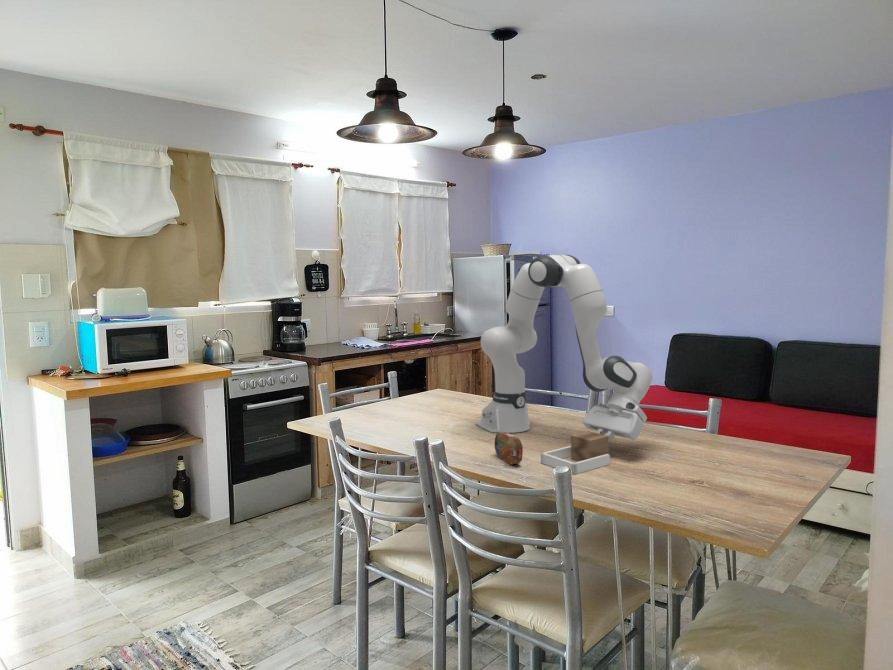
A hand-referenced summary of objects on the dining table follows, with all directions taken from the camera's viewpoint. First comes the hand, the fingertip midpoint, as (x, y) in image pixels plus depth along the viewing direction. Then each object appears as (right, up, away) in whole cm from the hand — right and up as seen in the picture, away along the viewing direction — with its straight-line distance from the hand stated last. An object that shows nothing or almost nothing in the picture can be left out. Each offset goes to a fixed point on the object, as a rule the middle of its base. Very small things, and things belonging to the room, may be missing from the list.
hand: (600, 443), depth 188 cm
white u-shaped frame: (-9, -5, -6) cm, 12 cm away
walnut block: (-4, -5, -2) cm, 6 cm away
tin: (-29, -6, -1) cm, 29 cm away
